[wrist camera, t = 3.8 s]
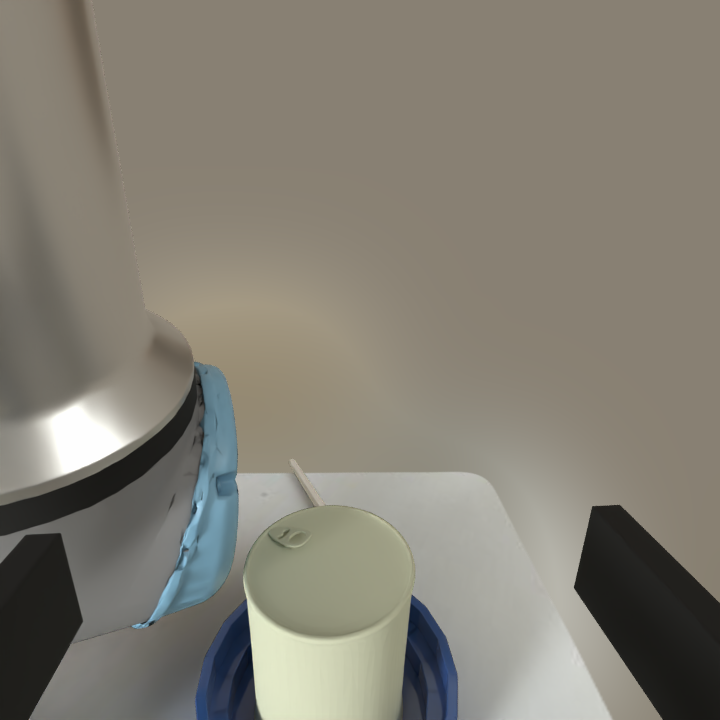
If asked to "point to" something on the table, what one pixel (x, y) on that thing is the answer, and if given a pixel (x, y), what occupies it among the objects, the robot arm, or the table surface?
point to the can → (329, 616)
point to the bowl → (420, 678)
